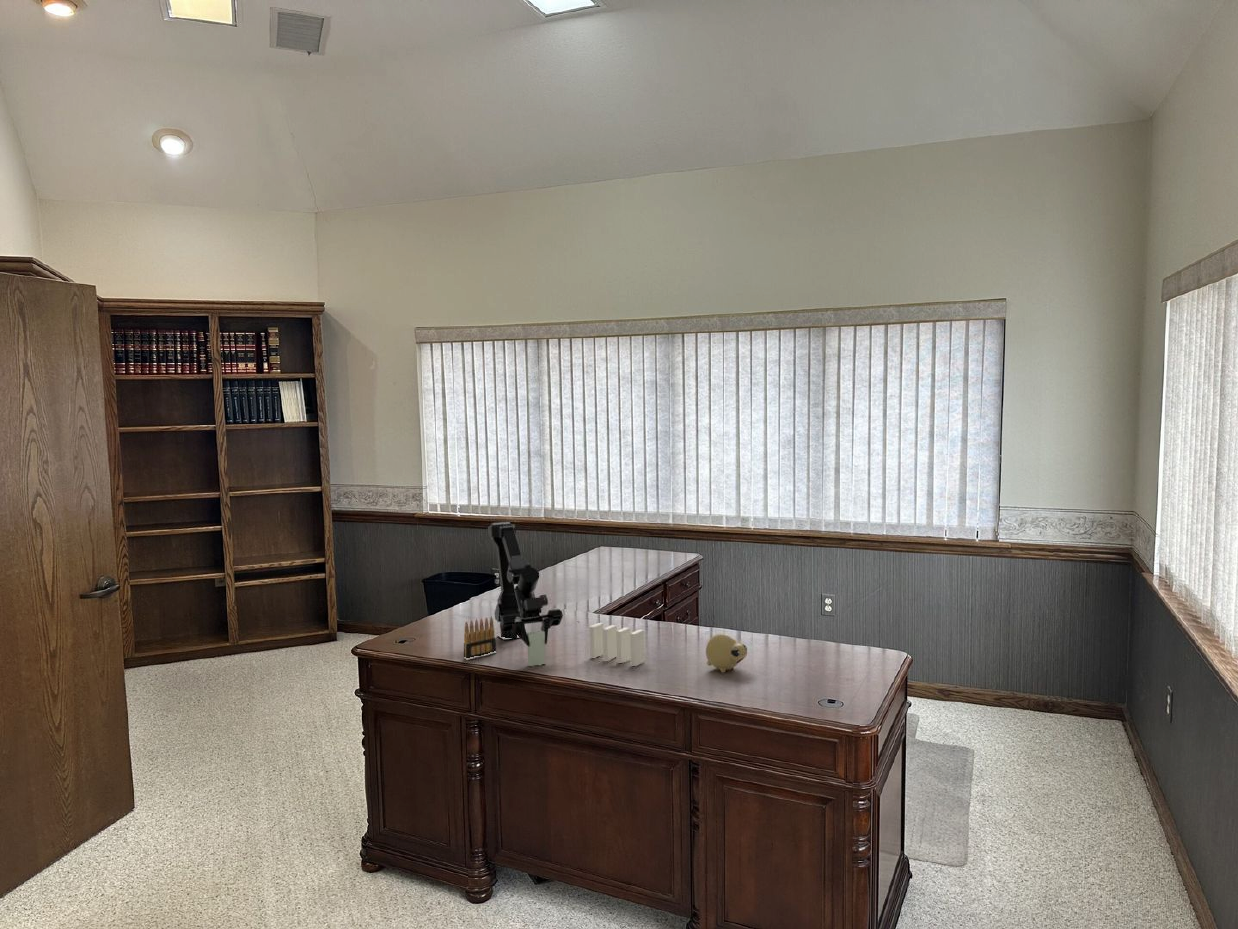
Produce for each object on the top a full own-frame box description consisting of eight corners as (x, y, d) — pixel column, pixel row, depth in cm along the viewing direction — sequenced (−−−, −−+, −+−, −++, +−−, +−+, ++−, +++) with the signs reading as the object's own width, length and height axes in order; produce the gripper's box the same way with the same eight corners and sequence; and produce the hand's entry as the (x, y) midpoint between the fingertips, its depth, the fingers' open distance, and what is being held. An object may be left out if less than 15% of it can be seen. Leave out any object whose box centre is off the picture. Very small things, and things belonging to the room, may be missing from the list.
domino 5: (630, 666, 258) (630, 633, 257) (639, 661, 262) (639, 629, 262) (635, 667, 257) (634, 634, 257) (644, 662, 262) (643, 630, 261)
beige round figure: (735, 678, 245) (735, 642, 244) (699, 671, 253) (699, 635, 252) (752, 669, 253) (752, 634, 252) (717, 662, 260) (717, 627, 260)
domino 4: (616, 663, 261) (616, 631, 260) (626, 659, 265) (625, 627, 264) (621, 664, 260) (620, 631, 259) (630, 660, 264) (629, 628, 264)
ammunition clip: (466, 660, 267) (465, 622, 266) (463, 659, 269) (462, 621, 268) (496, 653, 274) (495, 616, 273) (493, 652, 275) (492, 615, 274)
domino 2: (590, 658, 267) (589, 626, 266) (599, 654, 271) (598, 622, 270) (594, 659, 266) (593, 627, 265) (603, 654, 270) (603, 623, 269)
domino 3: (603, 661, 264) (602, 628, 263) (612, 656, 268) (612, 625, 267) (607, 661, 263) (607, 629, 262) (616, 657, 267) (616, 625, 266)
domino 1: (528, 665, 261) (527, 633, 260) (544, 663, 263) (543, 630, 262) (529, 666, 260) (528, 634, 259) (545, 664, 261) (544, 632, 261)
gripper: (501, 589, 259) (511, 635, 250) (560, 583, 266) (572, 627, 257) (495, 609, 267) (505, 654, 258) (553, 602, 274) (565, 646, 265)
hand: (537, 644), depth 259 cm, fingers closed on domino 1, 5 cm apart
